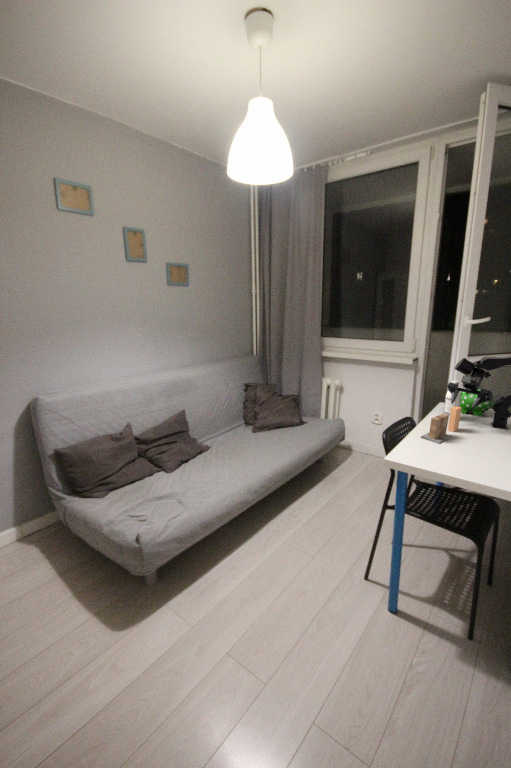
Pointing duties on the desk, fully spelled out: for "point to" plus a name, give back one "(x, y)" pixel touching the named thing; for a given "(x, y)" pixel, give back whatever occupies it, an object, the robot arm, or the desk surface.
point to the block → (454, 419)
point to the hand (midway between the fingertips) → (461, 405)
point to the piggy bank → (468, 401)
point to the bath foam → (448, 401)
